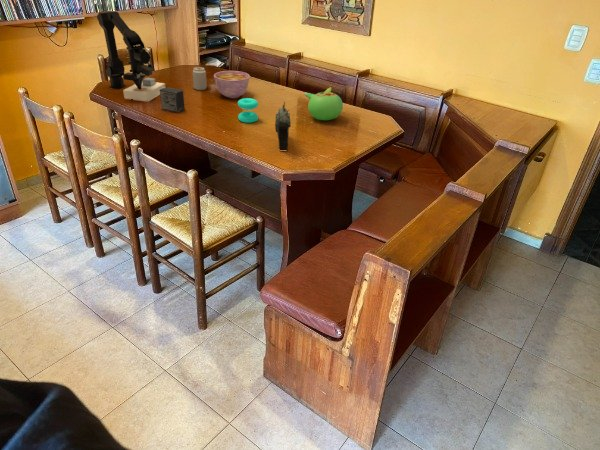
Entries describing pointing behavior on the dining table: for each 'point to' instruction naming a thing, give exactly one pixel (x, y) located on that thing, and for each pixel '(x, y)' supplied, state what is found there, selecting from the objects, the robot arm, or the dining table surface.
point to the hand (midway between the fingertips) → (139, 89)
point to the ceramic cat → (283, 127)
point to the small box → (172, 99)
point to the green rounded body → (324, 105)
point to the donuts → (248, 105)
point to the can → (199, 78)
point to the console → (143, 92)
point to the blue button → (148, 81)
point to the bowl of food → (231, 83)
